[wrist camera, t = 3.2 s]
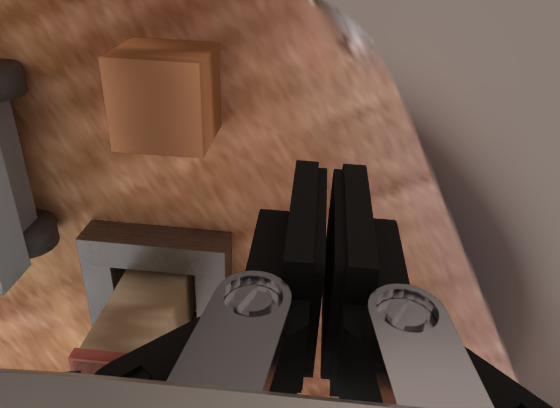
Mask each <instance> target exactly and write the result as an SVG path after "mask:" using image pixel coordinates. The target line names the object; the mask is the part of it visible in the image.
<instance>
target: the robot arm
mask: <svg viewBox="0 0 560 408" xmlns="http://www.w3.org/2000/svg"><path fill="white" fill-rule="evenodd" d="M318 166H319V162H314V161H301V160H297V161H296V168H295V175H294V183H293V190H292V197H291V205H290V211H279V210H266V209H260V212H259V215H258V220H257V224H256V228H255V232H254V237H253V241H252V245H251V249H250V254H249V258H248V262H247V266H246V271H243V272H238V273H236V274H233V275H230V276H229V277H227V278H225V279H224V280H222V281H221V283H220V284H219V285H218V286H217V288H216V289H215V291H214V293H213V295H212V297H211V299H210V300H209V302H208V304H207V306H206V308H205V310H204V312H203V314H202V315H201V316H200V317H198V318H196V319H194V320H192V321H190V322H188V323H186V324H184V325H182V326H180V327H178V328H176V329H174V330H172V331H170V332H168V333H166V334H164V335H162V336H160V337H158V338H156V339H154V340H152V341H151V342H149V343H147V344H145V345H143V346H141V347H139V348H137V349H135V350H133V351H131V352H129V353H127V354H125V355H123V356H121V357H119V358H117V359H115V360H113V361H111V362H109V363H108V364H106V365H105V366H103V367H102V368H100V369H99V370H97V372H96V373H95V374H94V375H93V374H82V372H81V370H79V371H68V372H54V371H38V370H21V369H4V368H1V369H0V408H553V407H551V406H550V405H548V404H547V403H545V402H544V401H543V400H541V399H540V398H538V397H536V396H535V395H534V394H532V393H531V392H530V391H528V390H527V389H525V388H524V387H522V386H521V385H520V384H518V383H517V382H515V381H514V380H512V379H511V378H509V377H508V376H507V375H505V374H504V373H502V372H501V371H499V370H498V369H496V368H495V367H494V366H492V365H491V364H489V363H488V362H486V361H485V360H483V359H482V358H480V357H479V356H478V355H476V354H475V353H473V352H472V351H470V350H469V349H467V348H466V347H465V346H464V345H463V343H462V341H461V339H460V337H459V335H458V333H457V331H456V329H455V326H454V324H453V322H452V320H451V318H450V316H449V314H448V312H447V310H446V308H445V307H444V306H443V304H442V303H441V301H440V300H439V299H437V298H436V297H435V296H434V295H432V294H431V293H429V292H427V291H425V290H424V289H422V288H419V287H416V286H412V285H410V284H409V279H408V274H407V269H406V264H405V259H404V254H403V250H402V245H401V240H400V235H399V230H398V225H397V222H396V221H395V220H387V219H375V218H373V212H372V205H371V197H370V190H369V182H368V175H367V167H366V166H365V165H352V164H343V168H342V170H341V169H334V172H333V181H332V190H331V199H330V208H329V217H328V226H327V235H326V204H327V168H318ZM321 301H322V335H321V379H330V396H337V397H339V398H340V399H338V398H328V397H319V396H309V395H299V394H297V393H301V390H302V387H303V377H311V378H313V371H314V362H315V353H316V345H317V336H318V327H319V318H320V309H321Z"/></svg>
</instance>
